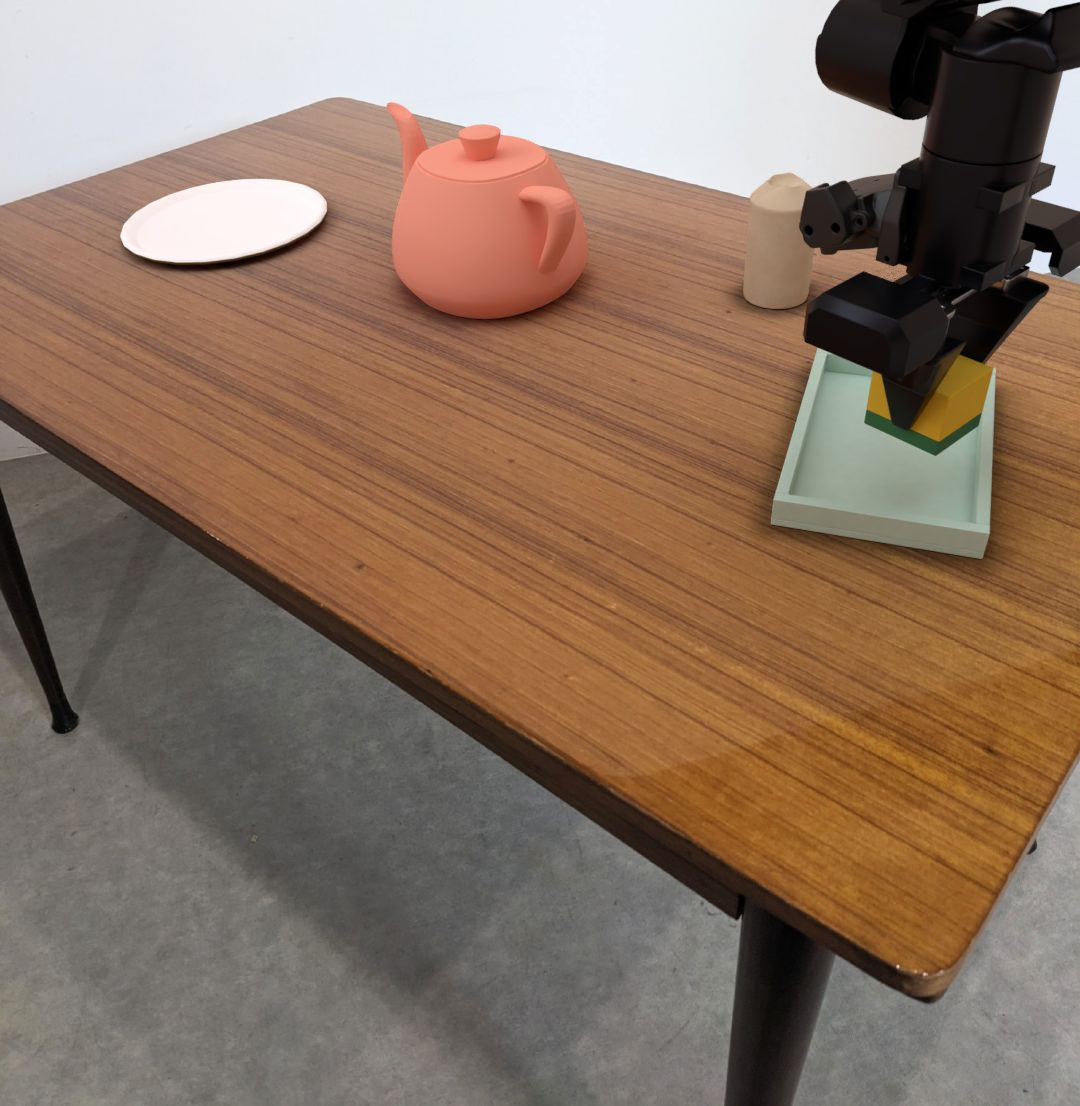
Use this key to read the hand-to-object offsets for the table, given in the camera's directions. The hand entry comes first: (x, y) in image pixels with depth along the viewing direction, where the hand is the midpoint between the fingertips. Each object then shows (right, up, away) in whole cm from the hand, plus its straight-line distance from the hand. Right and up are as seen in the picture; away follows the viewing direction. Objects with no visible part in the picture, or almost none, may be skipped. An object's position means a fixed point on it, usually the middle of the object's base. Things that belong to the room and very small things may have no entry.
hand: (925, 411), depth 62 cm
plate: (-55, +25, +45) cm, 75 cm away
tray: (+1, -2, +9) cm, 9 cm away
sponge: (0, -1, +1) cm, 1 cm away
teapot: (-28, +16, +33) cm, 46 cm away
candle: (-3, +14, +28) cm, 31 cm away
